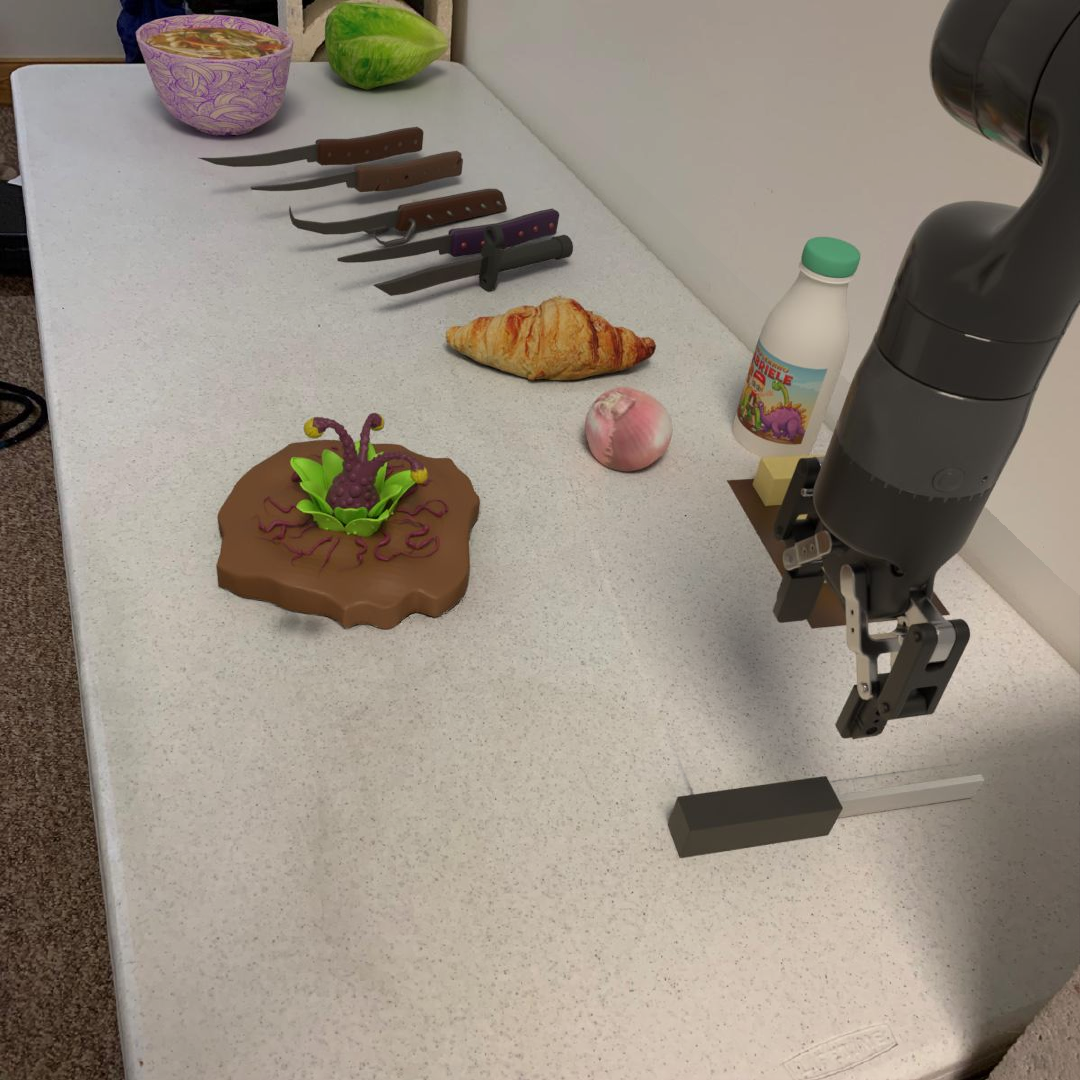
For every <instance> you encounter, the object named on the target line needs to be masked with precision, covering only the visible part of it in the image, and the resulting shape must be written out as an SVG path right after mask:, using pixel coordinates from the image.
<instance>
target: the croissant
mask: <svg viewBox="0 0 1080 1080" xmlns="http://www.w3.org/2000/svg"><path fill="white" fill-rule="evenodd" d="M444 334H445V342H446V343H447V344H448V345H449V346H450V347H451V348H452V349H453V350H455V351H457V352H459V354H462V355H463V356H467V357H469V358H471V360H473V361H475V362H477V363H480V364H482V365H485V366H490V367H493V368H495V369H497V370H499V371H502V372H506V373H510V374H512V375H515V376H518V377H522V378H525V379H528V380H529V381H535V380H536V381H537V380H542V379H545V380H550V381H571V380H580V379H584V378H589V377H592V376H598V375H603V374H609V373H610V374H611V373H615V372H619V371H623V370H628V369H631V368H634V367H635V366H637V365H639V364H641V363H643V362H645V361H646V360H648V359H650V358H651V357H652V356H653V355H654V354H655V352H656V349H657V345H656V342H655V339H653V338H651V337H649V336H645V337H641V336H638V335H637V334H635V332H634V331H633V330H631V329H629V328H626V327H624V326H614V325H612V324H611V323H610V322H609V321H608V320H607V319H605V318H604V317H603V316H601V315H599V314H596V313H594V311H593V310H586V309H585V308H584V306H582V304H580V302H579V301H577V300H576V299H574V298H569V297H564V296H561V295H559V296H558V295H557V296H553V297H551V298H548V299H545V300H543V301H542V302H541V303H540V304H539V305H536V306H534V305H522V306H517V307H513V308H509V310H507V311H506V312H505V313H503V314H497V315H495V316H494V315H493V316H479V317H478V318H475V319H473V320H471V321H469V322H467V323H466V324H465V325H464V326H463V325H462V326H461V325H455V326H450V327H448V329H447V330H446V331H445V333H444Z"/></svg>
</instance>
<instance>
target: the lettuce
mask: <svg viewBox="0 0 1080 1080" xmlns="http://www.w3.org/2000/svg"><path fill="white" fill-rule="evenodd" d="M449 41H450V40H449V38H448V37H447V35H446V34H445V32H443V31H442V30H441V29H440V28H439V27H437V26H436V25H435V24H434V23H432V22H431V21H429V20H427V18H425V17H423V16H420V15H418V14H417V13H414V12H412V11H410V10H407V9H404V8H401V7H397V6H394V5H389V4H388V5H387V4H381V3H376V2H370V1H365V2H364V1H363V2H349V1H340V2H338V4H337V5H335V7H334V8H333V9H332V10H331V11H330V12H329V13H328V14H327V16H326V19H325V24H324V45H325V51H326V57H327V60H328V63H329V66H330V68H331V70H332V72H333V73H335V74H336V75H337V76H338V77H339V78H340V79H341V80H343V81H344V82H345V83H346V84H349V85H352V86H354V87H357V88H360V89H362V90H365V91H368V90H372V89H375V88H379V87H382V86H387V85H392V84H395V83H396V84H397V83H399V82H404V81H406V80H408V79H410V78H413V77H414V76H416V75H418V74H420V73H421V72H422V71H423V70H425V69H426V68H427V67H428V66H430V65H431V64H432V63H433V62H435V61H437V60H438V59H439V58H440V57H442V56H443V55H444V54H446V52H447V51H448V50H449V48H450V42H449Z"/></svg>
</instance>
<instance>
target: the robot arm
mask: <svg viewBox="0 0 1080 1080" xmlns="http://www.w3.org/2000/svg"><path fill="white" fill-rule="evenodd" d="M928 69H929V80H930V84H931V87H932V90H933V93H934V96H935V98H936V99H937V101H938V103H939V104H940V106H941V107H942V109H943V110H944V111H945V112H946V113H947V115H949V116H950V117H951V118H952V119H954V120H955V122H956V123H958V124H960V125H961V126H963V127H964V128H967V129H968V130H969V131H971V132H973V133H975V134H977V135H978V136H980V137H982V138H984V139H986V140H988V141H990V142H993V143H994V144H996V145H997V146H999V147H1002V148H1003V149H1006V150H1008V151H1009V152H1011V153H1013V154H1015V155H1017V156H1019V157H1021V158H1023V159H1025V160H1026V161H1028V162H1031V163H1033V164H1035V165H1037V166H1039V167H1040V168H1041V170H1040V173H1039V176H1038V179H1037V182H1036V183H1035V186H1034V187H1033V190H1032V191H1031V192H1030V194H1029V196H1027V198H1026V200H1024V201H1023V203H1022V204H1021V205H1020V206H1016V205H1012V204H1006V203H1002V202H994V201H986V200H962V201H956V202H951V203H948V204H944V205H941V206H940V207H938V208H935V209H934V210H932V211H931V212H930V213H929V214H928V215H926V217H924V219H923V220H921V222H920V223H919V224H918V225H917V227H916V229H915V230H914V233H913V234H912V236H911V239H910V240H909V242H908V244H907V247H906V250H905V252H904V254H903V257H902V260H901V261H900V264H899V267H898V270H897V272H896V275H895V278H894V281H893V284H892V286H891V289H890V292H889V294H888V297H887V300H886V303H885V306H884V308H883V311H882V314H881V317H880V319H879V322H878V325H877V328H876V331H875V332H874V334H873V337H872V340H871V342H870V344H869V346H868V348H867V350H866V351H865V353H864V355H863V357H862V359H861V361H860V363H859V365H858V366H857V369H856V370H855V373H854V374H853V377H852V380H851V383H850V386H849V388H848V391H847V394H846V398H845V399H844V402H843V405H842V408H841V410H840V414H839V416H838V419H837V422H836V425H835V428H834V429H833V432H832V435H831V437H830V438H831V439H830V441H829V444H828V447H827V449H826V452H825V454H826V455H825V456H819V457H811V458H801V459H799V461H798V463H797V466H796V468H795V471H794V473H793V476H792V479H791V481H790V484H789V486H788V489H787V491H786V494H785V497H784V499H783V502H782V504H781V507H780V510H779V512H778V515H777V517H776V520H775V522H774V526H773V533H774V537H775V539H776V540H777V541H784V543H785V546H786V550H785V551H784V553H783V564H784V567H785V568H786V570H785V573H784V575H783V578H782V577H781V582H780V584H779V587H778V590H777V592H776V600H775V603H774V606H773V608H772V613H773V615H774V617H775V619H776V621H777V622H778V623H780V624H785V623H793V622H803V621H807V620H806V619H807V618H809V617H810V615H811V614H812V611H813V609H814V606H815V604H816V601H817V599H818V596H819V594H820V591H821V589H822V586H823V583H824V581H826V582H827V584H828V585H829V587H830V588H831V589H832V590H833V591H834V592H835V593H836V594H837V596H838V598H839V601H840V603H841V606H842V608H843V610H844V611H845V613H846V625H845V629H846V632H845V633H846V646H847V649H848V650H849V651H850V652H853V653H854V654H855V667H856V684H853V686H852V688H851V689H850V692H849V695H848V697H847V699H846V700H845V703H844V705H843V707H842V710H841V711H840V713H839V715H838V718H837V720H836V722H835V724H834V725H835V729H836V730H837V732H838V734H839V736H840V737H841V738H842V739H852V740H858V739H864V738H872V737H877V736H879V735H881V734H882V733H883V731H884V730H885V727H886V726H887V724H888V722H889V721H893V720H900V719H907V718H915V717H921V716H928V715H929V716H930V715H933V714H935V712H936V710H937V707H938V705H939V703H940V701H941V700H942V698H943V695H944V694H945V691H946V689H947V687H948V685H949V683H950V681H951V678H952V677H953V674H954V672H955V670H956V668H957V666H958V664H959V662H960V660H961V658H962V656H963V653H964V652H965V650H966V649H967V646H968V644H969V642H970V639H971V630H970V626H969V625H968V623H967V622H966V620H965V619H963V618H956V619H946V618H945V617H944V615H943V616H942V615H941V613H940V612H939V611H938V610H937V608H936V607H935V606H934V605H933V603H932V602H931V600H932V597H933V591H934V586H935V579H936V576H937V573H938V571H939V570H940V569H941V568H942V567H943V566H944V565H945V564H947V562H948V561H950V560H951V559H952V558H953V557H954V556H955V555H957V554H958V553H959V552H960V551H961V549H962V548H963V547H964V546H965V544H966V543H967V542H968V539H969V537H970V536H971V533H972V531H973V529H974V527H975V526H976V523H977V521H978V520H979V518H980V515H981V514H982V511H983V510H984V508H985V506H986V504H987V502H988V500H989V498H990V496H991V494H992V492H993V490H994V488H995V487H996V484H997V483H998V480H999V478H1000V476H1001V475H1002V472H1003V471H1004V469H1005V467H1006V465H1007V463H1008V461H1009V460H1010V457H1011V455H1012V453H1013V451H1014V450H1015V447H1016V445H1017V443H1018V441H1019V439H1020V438H1021V435H1022V433H1023V431H1024V429H1025V425H1026V423H1027V420H1028V418H1029V414H1030V411H1031V409H1032V404H1033V402H1034V399H1035V396H1036V393H1037V391H1038V389H1039V386H1040V385H1041V382H1042V380H1043V378H1044V376H1045V374H1046V372H1047V370H1048V368H1049V366H1050V364H1051V362H1052V359H1053V358H1054V356H1055V355H1056V352H1057V350H1058V348H1059V346H1060V344H1061V342H1062V340H1063V338H1064V337H1065V335H1066V333H1067V330H1068V329H1069V328H1070V325H1071V324H1072V322H1073V319H1074V317H1075V316H1076V313H1077V311H1078V309H1079V307H1080V0H948V2H947V3H946V5H945V7H944V9H943V11H942V12H941V15H940V17H939V21H938V23H937V25H936V27H935V30H934V34H933V37H932V40H931V44H930V50H929V61H928ZM804 513H808V514H807V516H806V519H797V517H798V516H799V515H801V514H804ZM796 519H797V520H796ZM822 567H823V568H824V570H823V569H822ZM824 571H825V572H824ZM893 618H897V620H896V621H897V623H896V627H895V629H893V630H892V631H890V632H884V633H883V632H881V633H875V634H870V633H869V623H868V622H873V623H876V622H875V621H883V622H885V621H884V620H889V619H893ZM882 654H890V655H889V656H890V671H889V672H882V673H879V667H878V659H879V657H880V656H881V655H882Z"/></svg>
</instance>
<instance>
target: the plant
mask: <svg viewBox="0 0 1080 1080" xmlns="http://www.w3.org/2000/svg"><path fill="white" fill-rule="evenodd" d="M384 427H385V419H384V417H383V416H382V414H380V413H377V412H372V413H369V414H368V416H367V418H366V419H365V420H364V423H363V425H362V428H361V432H360V433H359V437H360V439H358V440H356V441H354V439H353V437H352V436H351V435H350V434H349V433H348V430H347V429H346V428H345V426H344V425H343V424H340V423H339V422H338V421H336V420H335V419H330V418H328V417H324V416H314V417H311V418H310V419H308V420H307V421H305V423H304V425H303V432H304V434H305V436H307V437H308V438H309V439H313V440H308V441H306V440H305V441H297V442H291V443H289V444H287V445H286V446H284V447H283V448H281V449H280V450H278V451H277V452H275V453H274V454H272V455H270V456H269V457H266V459H264V460H262V461H261V462H260V461H259V463H257V464H255V465H254V466H252V467H251V468H250V469H249V470H247V472H245V473H244V474H243V475H242V476H241V477H240V478H239V479H238V480H237V481H236V483H235V484H234V486H233V488H232V489H231V492H229V494H228V496H227V497H226V499H225V500H224V502H223V504H222V505H221V507H220V509H219V511H218V513H217V514H216V518H217V524H218V531H219V536H220V539H221V541H222V542H221V546H220V552H219V556H218V559H217V561H216V564H215V566H216V577H217V586H218V587H219V588H222V589H224V590H228V591H229V592H231V593H232V594H234V595H236V596H237V597H239V598H240V597H241V598H242V599H243V598H244V599H249V600H258V601H263V602H268V603H270V604H273V605H276V606H277V607H279V608H281V609H283V610H287V611H289V612H290V611H291V612H295V613H301V614H307V615H314V616H315V615H316V616H325V617H326V618H327V617H328V618H330V619H332V620H334V621H336V622H337V623H338V624H340V625H341V627H343V628H344V629H348V628H350V627H352V626H356V625H360V624H362V625H370V626H374V627H377V628H380V629H383V630H389V629H392V628H394V627H396V626H397V625H398V624H400V623H401V622H402V621H403V620H404V619H405V618H406V617H408V616H409V615H411V614H415V613H421V614H424V615H426V616H429V617H432V618H438V617H439V616H442V615H443V614H444V613H446V612H448V611H449V610H451V609H452V608H454V607H455V606H456V605H457V604H458V603H459V602H460V601H461V600H462V599H463V597H464V596H465V595H466V592H467V589H468V586H469V579H470V569H471V555H470V553H471V552H470V538H471V533H472V529H473V526H474V525H475V523H477V521H478V520H479V516H480V507H481V500H480V496H479V495H478V494H477V492H476V491H475V488H474V485H473V482H472V481H471V479H470V477H469V476H468V474H466V473H465V472H464V471H462V470H461V469H460V468H459V467H458V466H457V465H456V464H455V462H454V460H453V459H452V458H450V457H431V456H430V457H429V456H427V455H426V456H425V455H423V454H420V453H418V452H415V451H412V450H410V449H408V448H407V447H406V446H404V445H401V444H398V443H397V444H396V443H372V442H371V437H370V436H371V430H372V432H373V431H374V432H379V431H381V430H383V429H384ZM327 429H333V430H334V432H335V434H336V435H338V439H319V438H321V437H322V436H323V435H324V434H325V432H326V430H327Z"/></svg>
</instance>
